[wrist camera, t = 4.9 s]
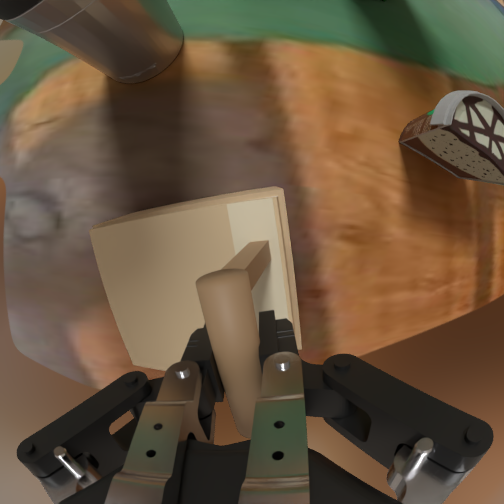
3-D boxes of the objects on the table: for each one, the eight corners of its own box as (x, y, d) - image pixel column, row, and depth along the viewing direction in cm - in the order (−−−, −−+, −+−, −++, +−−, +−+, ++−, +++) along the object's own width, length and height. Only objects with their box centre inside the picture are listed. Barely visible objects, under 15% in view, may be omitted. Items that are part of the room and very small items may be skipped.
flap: (93, 228, 18) (19, 255, 11) (278, 196, 14) (236, 218, 8) (136, 361, 21) (88, 411, 14) (299, 376, 17) (280, 461, 10)
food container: (474, 138, 22) (531, 135, 13) (466, 183, 24) (526, 191, 14) (397, 87, 22) (451, 57, 12) (386, 136, 23) (445, 120, 14)
